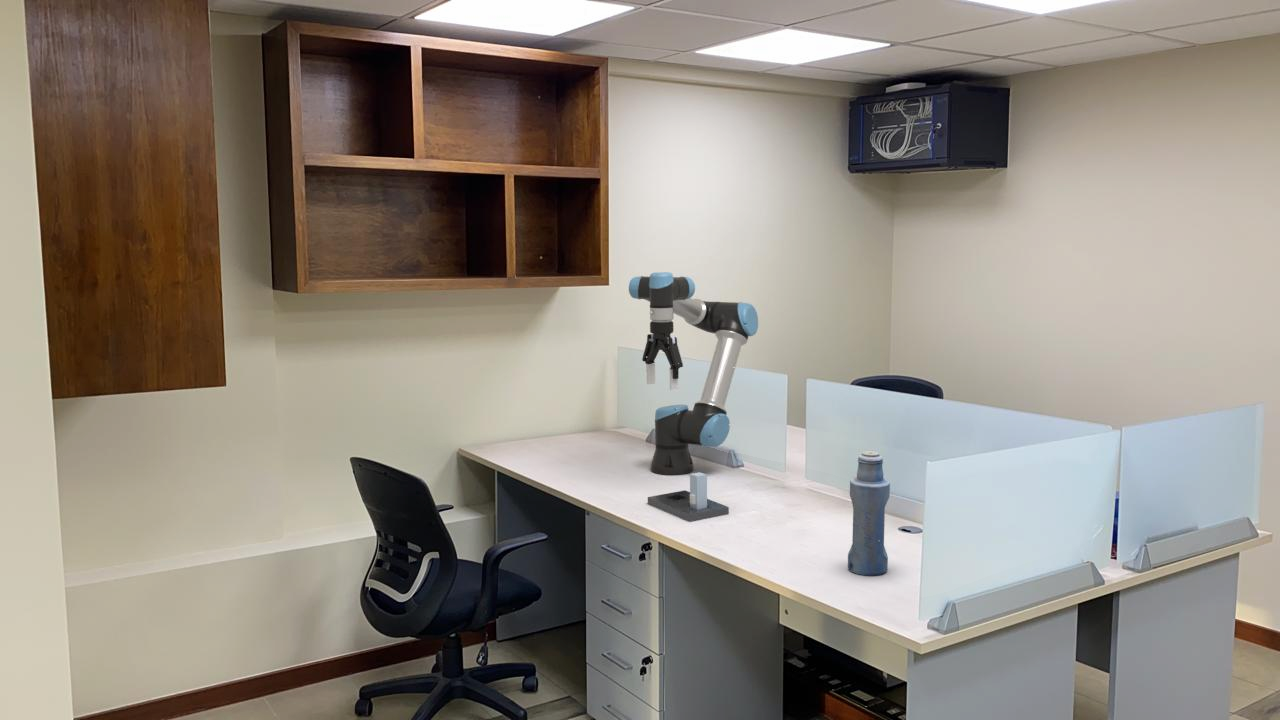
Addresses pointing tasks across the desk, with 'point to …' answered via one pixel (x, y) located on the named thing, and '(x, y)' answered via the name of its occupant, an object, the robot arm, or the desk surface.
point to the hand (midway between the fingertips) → (662, 386)
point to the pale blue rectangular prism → (698, 491)
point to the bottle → (869, 516)
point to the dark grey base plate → (686, 506)
